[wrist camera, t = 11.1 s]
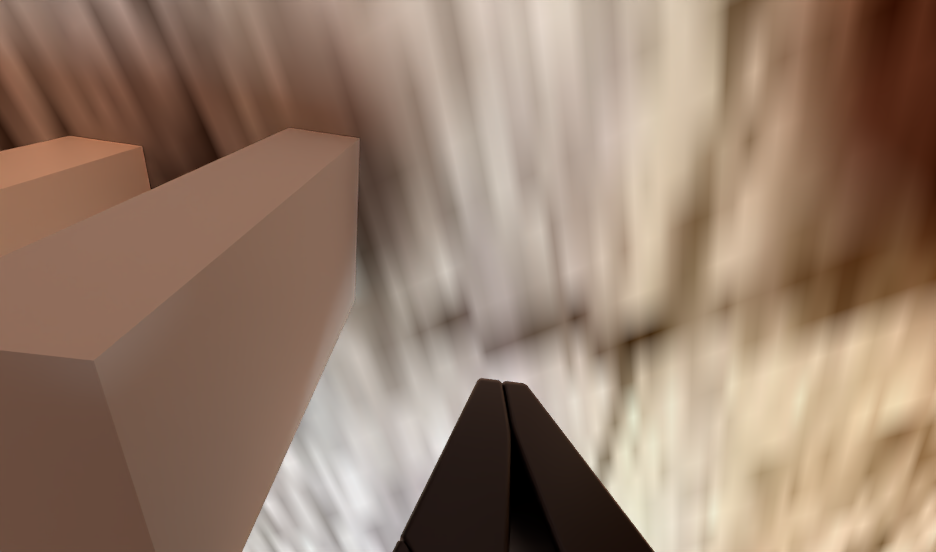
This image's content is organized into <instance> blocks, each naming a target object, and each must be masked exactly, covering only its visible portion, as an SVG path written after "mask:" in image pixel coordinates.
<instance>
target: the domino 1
mask: <svg viewBox="0 0 936 552" xmlns="http://www.w3.org/2000/svg"><path fill="white" fill-rule="evenodd" d="M149 190H151V188H150V183H149V178H148V173H147V168H146V163H145V158H144V153H143V148H142V146H138V145H131V144H124V143H117V142H110V141H103V140H96V139H89V138H82V137H76V136H66V137H62V138H57V139H53V140H48V141H44V142H39V143H35V144H31V145H26V146H22V147H17V148H13V149H8V150H4V151H0V257H2V256H5V255H7V254H9V253H11V252H13V251H16V250H18V249H20V248H22V247H25V246H27V245H29V244H31V243H33V242H36V241H38V240H40V239H42V238H45V237H47V236H49V235H51V234H53V233H56V232H58V231H60V230H62V229H65V228H67V227H69V226H71V225H73V224H76V223H78V222H80V221H82V220H85V219H87V218H89V217H91V216H93V215H96V214H98V213H100V212H102V211H105V210H107V209H109V208H111V207H113V206H116V205H118V204H120V203H122V202H125V201H127V200H129V199H131V198H133V197H136V196H138V195H140V194H142V193H145V192H147V191H149Z"/></svg>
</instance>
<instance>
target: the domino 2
mask: <svg viewBox="0 0 936 552" xmlns="http://www.w3.org/2000/svg"><path fill="white" fill-rule="evenodd" d="M359 147H360V138H356V137H349V136H342V135H336V134H329V133H322V132H316V131H309V130H302V129H295V128H287V129H285V130H282V131H280V132H278V133H276V134H274V135H271V136H269V137H267V138H265V139H262V140H260V141H258V142H256V143H253V144H251V145H249V146H247V147H245V148H242V149H240V150H238V151H236V152H233V153H231V154H229V155H227V156H225V157H222V158H220V159H218V160H216V161H213V162H211V163H209V164H207V165H205V166H202V167H200V168H198V169H196V170H193V171H191V172H189V173H187V174H185V175H182V176H180V177H178V178H176V179H173V180H171V181H169V182H167V183H165V184H162V185H160V186H158V187H156V188H153V189H151V190H149V191H147V192H145V193H142V194H140V195H138V196H136V197H133V198H131V199H129V200H127V201H125V202H122V203H120V204H118V205H116V206H113V207H111V208H109V209H107V210H105V211H102V212H100V213H98V214H96V215H93V216H91V217H89V218H87V219H85V220H82V221H80V222H78V223H76V224H73V225H71V226H69V227H67V228H65V229H62V230H60V231H58V232H56V233H53V234H51V235H49V236H47V237H45V238H42V239H40V240H38V241H36V242H33V243H31V244H29V245H27V246H25V247H22V248H20V249H18V250H16V251H13V252H11V253H9V254H7V255H5V256H2V257H0V552H242V551H243V548H244V546H245V544H246V542H247V539H248V537H249V535H250V533H251V531H252V528H253V526H254V524H255V522H256V519H257V517H258V515H259V513H260V511H261V508H262V506H263V504H264V502H265V499H266V497H267V495H268V493H269V491H270V488H271V486H272V484H273V482H274V479H275V477H276V475H277V473H278V471H279V468H280V466H281V464H282V462H283V459H284V457H285V455H286V453H287V451H288V448H289V446H290V444H291V442H292V439H293V437H294V435H295V433H296V431H297V428H298V426H299V424H300V422H301V420H302V417H303V415H304V413H305V411H306V408H307V406H308V404H309V402H310V400H311V397H312V395H313V393H314V391H315V388H316V386H317V384H318V382H319V380H320V377H321V375H322V373H323V371H324V368H325V366H326V364H327V362H328V360H329V357H330V355H331V353H332V351H333V348H334V346H335V344H336V342H337V340H338V337H339V335H340V333H341V331H342V328H343V326H344V324H345V322H346V320H347V317H348V315H349V313H350V311H351V308H352V306H353V304H354V302H355V284H356V250H357V216H358V182H359Z"/></svg>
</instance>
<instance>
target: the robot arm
mask: <svg viewBox="0 0 936 552" xmlns="http://www.w3.org/2000/svg"><path fill="white" fill-rule="evenodd" d="M393 552H654V551H653V549H652V548H651V547H650V545H649V544H648V543H647V541H646V540H645V539H644V537H643V536H642V535H641V534H640V532H639V531H638V530H637V528H636V527H635V526H634V524H633V523H632V522H631V521H630V519H629V518H628V517H627V515H626V514H625V513H624V511H623V510H622V509H621V507H620V506H619V505H618V504H617V502H616V501H615V500H614V498H613V497H612V496H611V494H610V493H609V492H608V490H607V489H606V488H605V487H604V485H603V484H602V483H601V481H600V480H599V479H598V477H597V476H596V475H595V473H594V472H593V471H592V470H591V468H590V467H589V466H588V464H587V463H586V462H585V460H584V459H583V458H582V457H581V455H580V454H579V453H578V451H577V450H576V449H575V447H574V446H573V445H572V443H571V442H570V441H569V440H568V438H567V437H566V436H565V434H564V433H563V432H562V430H561V429H560V428H559V426H558V425H557V424H556V423H555V421H554V420H553V419H552V417H551V416H550V415H549V413H548V412H547V411H546V409H545V408H544V407H543V406H542V404H541V403H540V402H539V400H538V399H537V398H536V396H535V395H534V394H533V393H532V391H531V390H530V389H529V387H528V386H527V385H525V384H523V383H517V382H509V381H505V382H503V383H501V382H500V381H499V380H492V379H484V378H480V379H479V380H478V381H477V383H476V385H475V387H474V389H473V391H472V393H471V395H470V397H469V399H468V401H467V403H466V405H465V407H464V409H463V411H462V413H461V415H460V417H459V419H458V421H457V423H456V425H455V427H454V429H453V431H452V433H451V435H450V437H449V439H448V441H447V443H446V445H445V448H444V450H443V452H442V454H441V456H440V458H439V460H438V462H437V464H436V466H435V468H434V470H433V472H432V474H431V476H430V478H429V480H428V482H427V484H426V486H425V488H424V490H423V492H422V494H421V496H420V498H419V500H418V502H417V504H416V506H415V508H414V510H413V512H412V514H411V516H410V518H409V520H408V522H407V524H406V527H405V529H404V531H403V533H402V535H401V537H400V541H398V542H397V544H396V546H395V548H394V550H393Z"/></svg>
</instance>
